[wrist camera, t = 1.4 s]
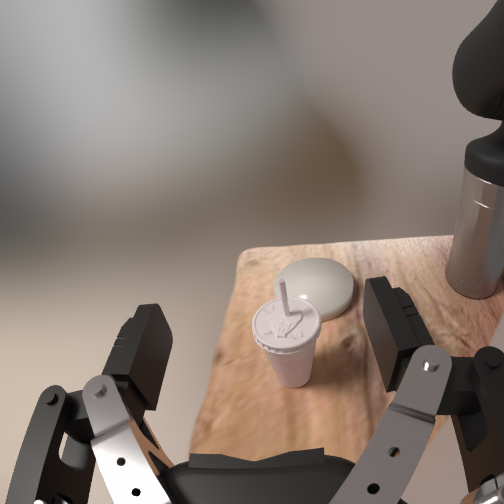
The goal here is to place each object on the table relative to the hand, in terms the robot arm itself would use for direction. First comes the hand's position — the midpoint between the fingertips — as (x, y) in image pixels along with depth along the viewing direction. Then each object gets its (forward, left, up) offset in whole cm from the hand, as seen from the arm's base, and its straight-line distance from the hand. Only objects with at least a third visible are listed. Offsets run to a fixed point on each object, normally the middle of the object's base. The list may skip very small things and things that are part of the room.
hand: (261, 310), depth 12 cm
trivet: (-20, -13, -22) cm, 33 cm away
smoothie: (-8, -7, -23) cm, 25 cm away
